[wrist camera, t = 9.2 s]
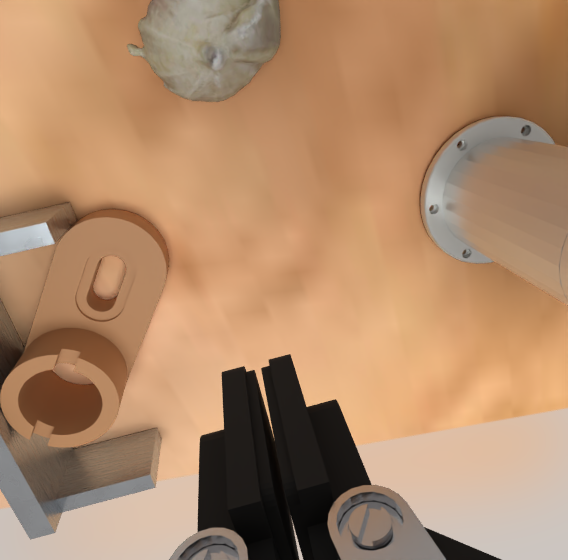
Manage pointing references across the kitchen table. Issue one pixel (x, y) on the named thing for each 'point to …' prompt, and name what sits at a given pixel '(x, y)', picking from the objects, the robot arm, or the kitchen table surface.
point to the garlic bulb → (208, 44)
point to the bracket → (86, 330)
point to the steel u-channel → (35, 453)
